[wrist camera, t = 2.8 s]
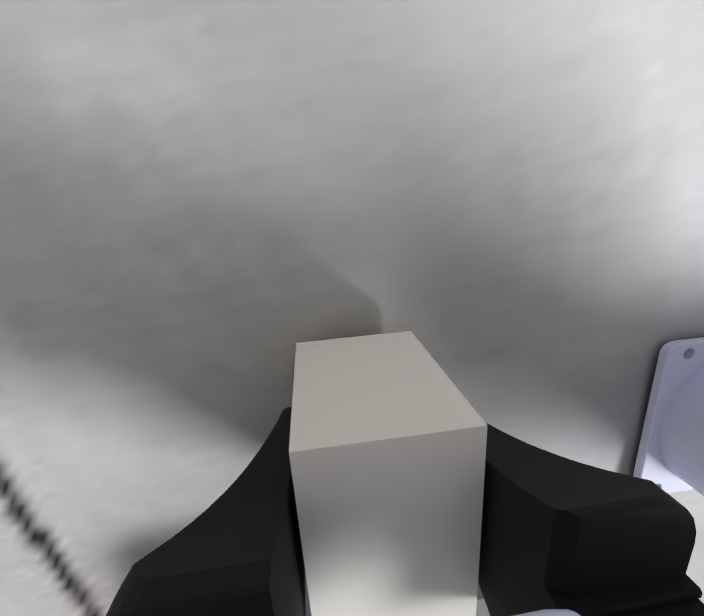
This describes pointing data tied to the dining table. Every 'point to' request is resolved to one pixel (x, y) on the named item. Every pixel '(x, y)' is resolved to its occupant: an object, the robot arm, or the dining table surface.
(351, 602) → the plug
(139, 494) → the dining table surface
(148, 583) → the robot arm
